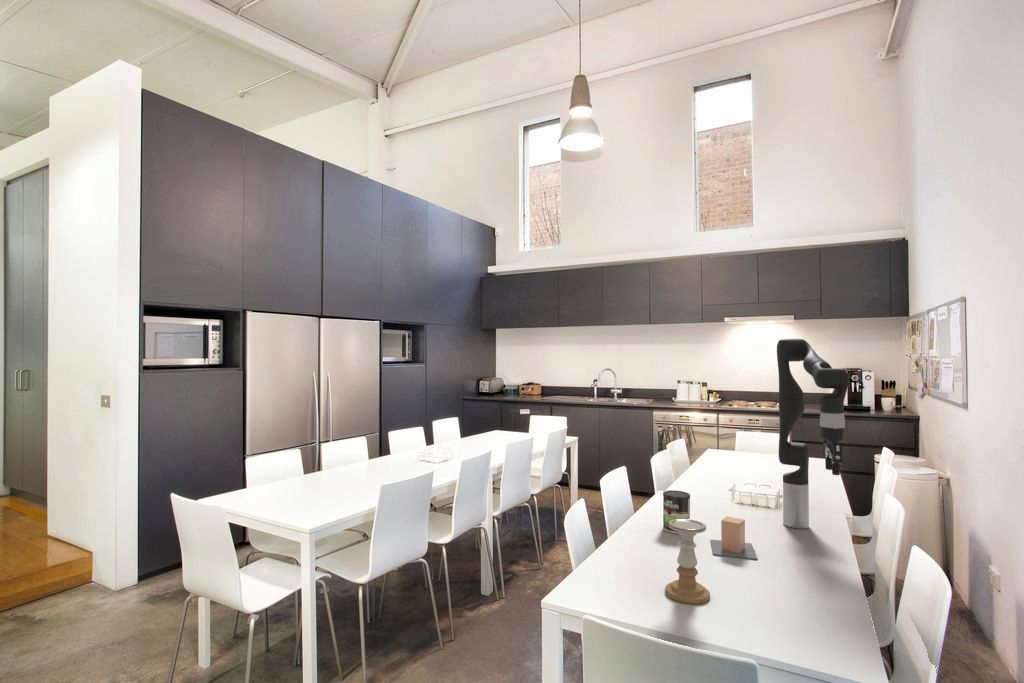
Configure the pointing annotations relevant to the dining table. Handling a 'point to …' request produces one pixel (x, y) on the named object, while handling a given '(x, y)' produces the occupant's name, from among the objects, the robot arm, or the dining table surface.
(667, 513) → the coffee can
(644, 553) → the dining table surface
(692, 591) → the candle holder
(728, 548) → the tall peach brick
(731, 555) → the charcoal mat
